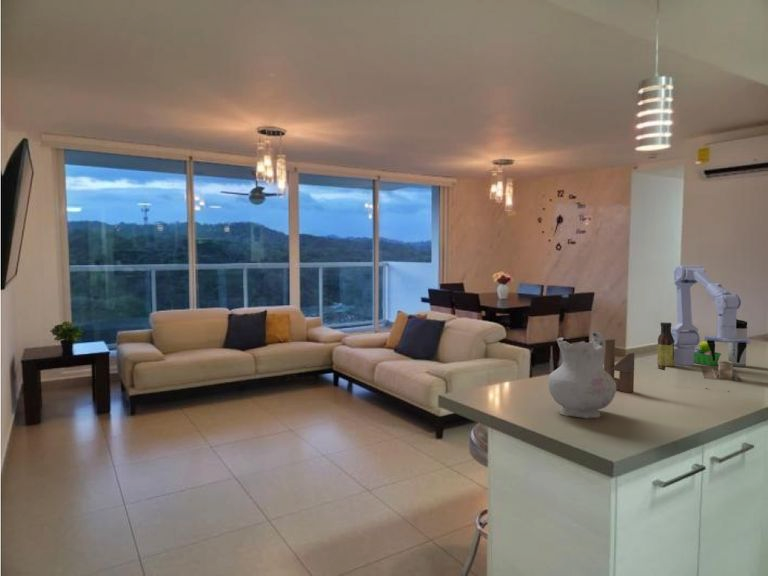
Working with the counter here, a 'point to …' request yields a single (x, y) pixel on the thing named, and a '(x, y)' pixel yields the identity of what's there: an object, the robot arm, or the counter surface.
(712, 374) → the walnut board
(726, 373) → the maple block
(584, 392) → the ceramic pitcher
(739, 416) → the counter surface
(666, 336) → the sauce bottle
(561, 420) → the counter surface
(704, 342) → the fruit basket
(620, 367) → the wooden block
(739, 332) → the travel mug
